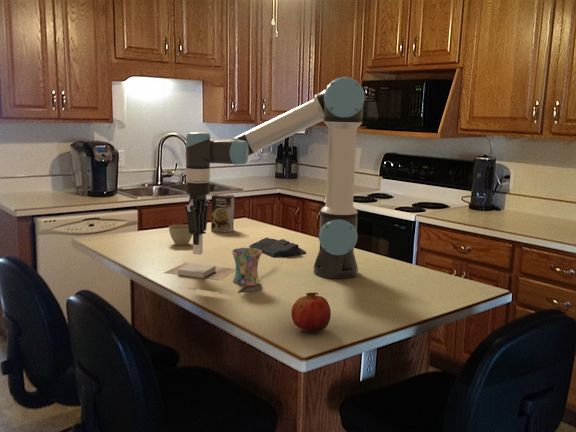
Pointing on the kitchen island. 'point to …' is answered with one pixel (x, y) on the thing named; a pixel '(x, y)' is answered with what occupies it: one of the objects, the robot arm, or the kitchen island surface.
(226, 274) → the board
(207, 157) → the robot arm
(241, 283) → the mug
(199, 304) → the kitchen island surface
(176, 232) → the flower pot
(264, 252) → the dark slate chunk
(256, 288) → the coaster
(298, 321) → the fruit
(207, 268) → the tile
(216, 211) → the coffee box
